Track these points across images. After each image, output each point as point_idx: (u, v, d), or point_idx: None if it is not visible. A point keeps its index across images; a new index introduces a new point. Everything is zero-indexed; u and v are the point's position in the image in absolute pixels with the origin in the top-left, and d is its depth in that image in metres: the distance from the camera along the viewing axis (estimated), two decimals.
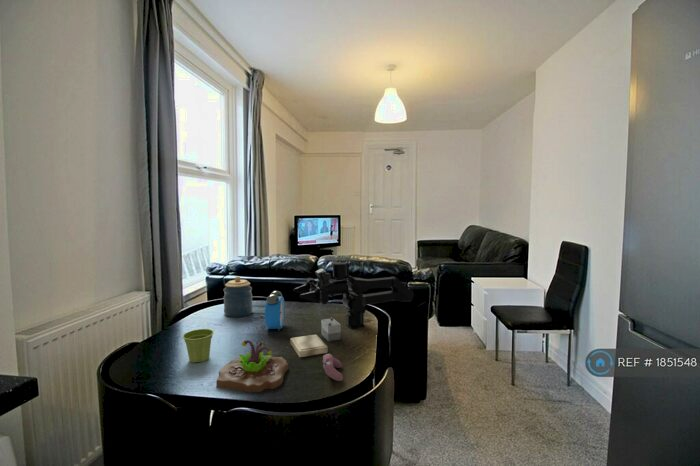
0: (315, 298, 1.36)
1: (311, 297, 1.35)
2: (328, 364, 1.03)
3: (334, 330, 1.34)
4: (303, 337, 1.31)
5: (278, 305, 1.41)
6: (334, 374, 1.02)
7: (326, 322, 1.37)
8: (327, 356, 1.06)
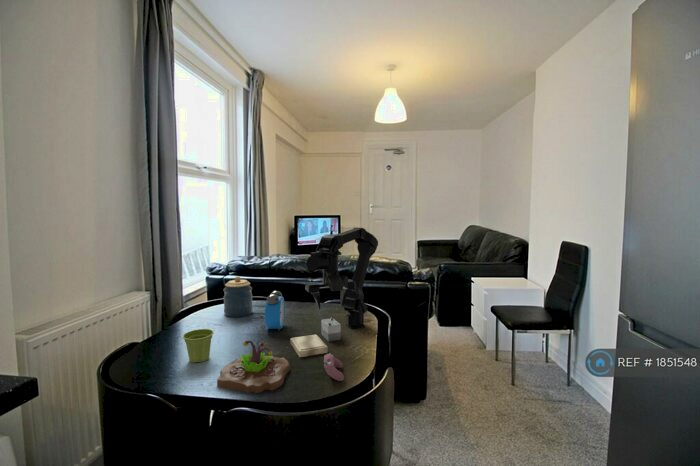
0: None
1: None
2: (329, 363, 1.03)
3: (334, 330, 1.34)
4: (303, 337, 1.31)
5: (278, 305, 1.41)
6: (335, 374, 1.02)
7: (326, 322, 1.37)
8: (328, 356, 1.06)
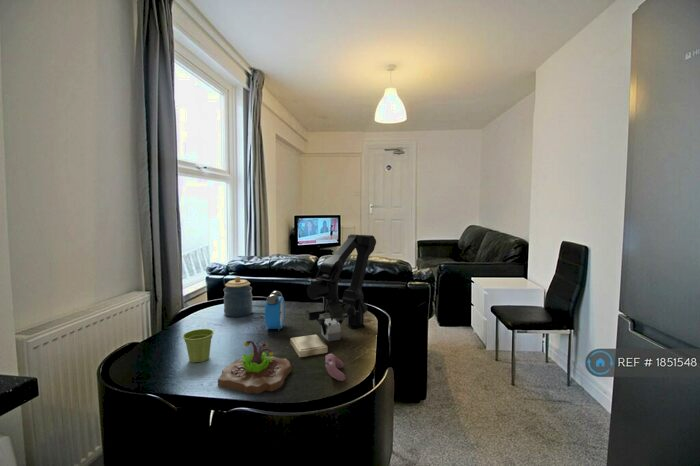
0: None
1: None
2: (330, 363, 1.03)
3: (334, 330, 1.34)
4: (303, 337, 1.31)
5: (278, 305, 1.41)
6: (337, 374, 1.02)
7: (326, 322, 1.36)
8: (329, 356, 1.06)
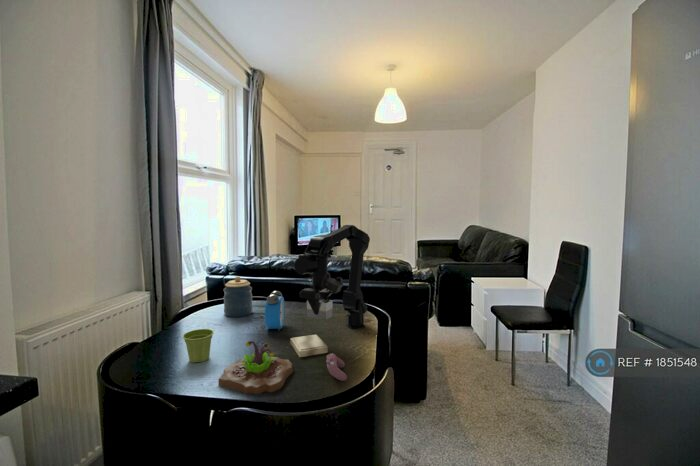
0: None
1: None
2: (331, 363, 1.03)
3: (329, 307, 1.29)
4: (303, 337, 1.31)
5: (278, 305, 1.41)
6: (338, 374, 1.02)
7: None
8: (331, 356, 1.07)
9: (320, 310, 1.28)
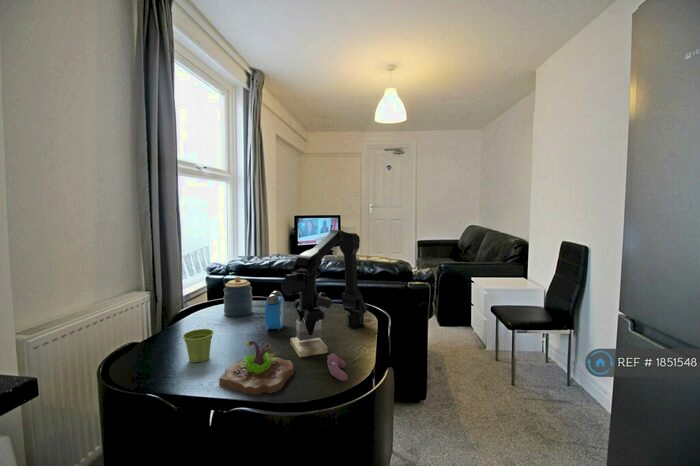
0: None
1: None
2: (332, 363, 1.03)
3: None
4: None
5: (278, 305, 1.41)
6: (339, 374, 1.02)
7: None
8: (332, 356, 1.07)
9: (315, 330, 1.25)
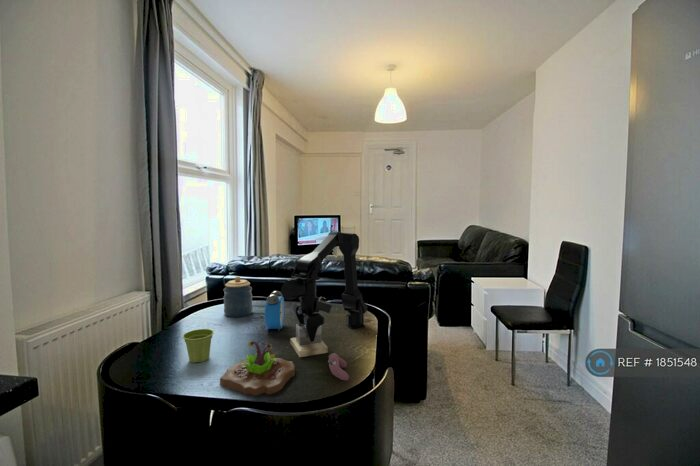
0: None
1: None
2: (334, 363, 1.03)
3: None
4: None
5: (278, 305, 1.41)
6: (340, 373, 1.02)
7: None
8: (333, 356, 1.07)
9: None
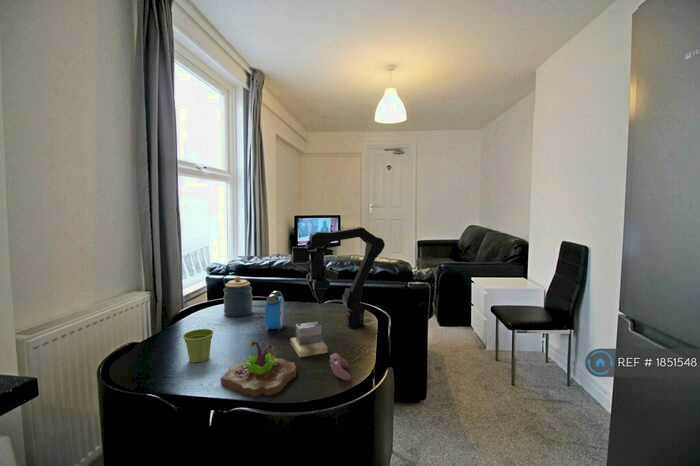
0: None
1: None
2: (335, 363, 1.03)
3: None
4: None
5: (278, 305, 1.41)
6: (342, 373, 1.02)
7: (309, 326, 1.25)
8: (334, 356, 1.07)
9: (315, 334, 1.25)
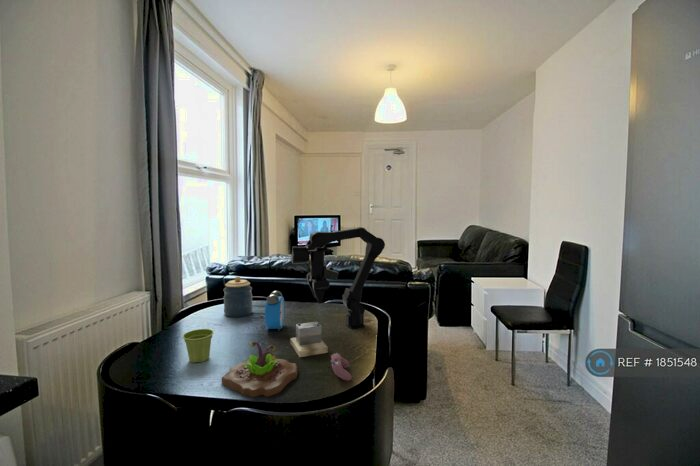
0: None
1: None
2: (336, 363, 1.03)
3: None
4: None
5: (278, 305, 1.41)
6: (343, 374, 1.02)
7: (309, 326, 1.25)
8: (335, 356, 1.07)
9: (315, 334, 1.25)
